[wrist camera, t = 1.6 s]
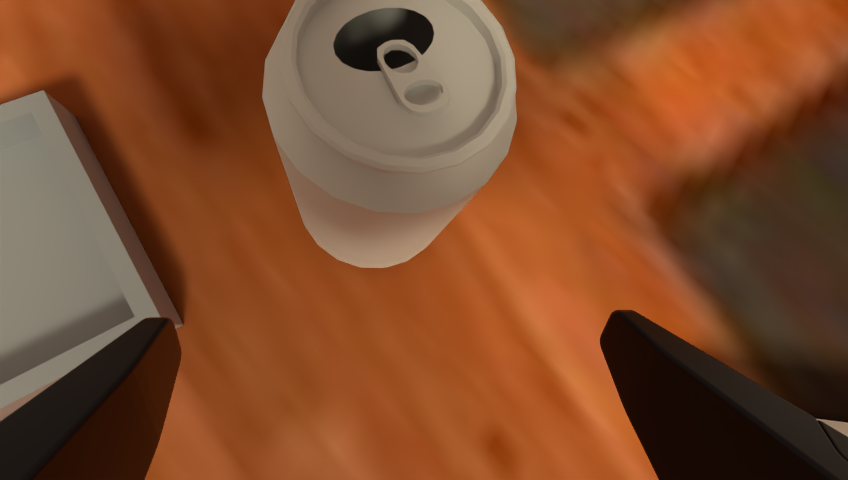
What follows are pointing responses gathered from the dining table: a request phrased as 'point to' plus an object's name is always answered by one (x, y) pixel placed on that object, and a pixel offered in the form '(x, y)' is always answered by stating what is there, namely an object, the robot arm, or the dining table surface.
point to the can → (388, 118)
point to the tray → (62, 253)
